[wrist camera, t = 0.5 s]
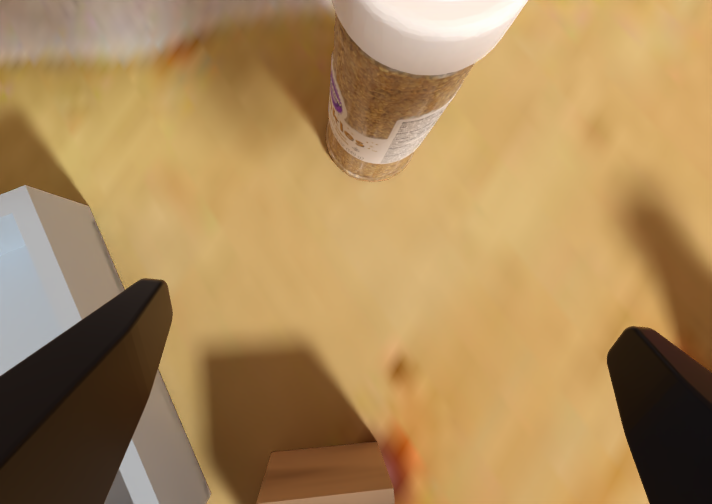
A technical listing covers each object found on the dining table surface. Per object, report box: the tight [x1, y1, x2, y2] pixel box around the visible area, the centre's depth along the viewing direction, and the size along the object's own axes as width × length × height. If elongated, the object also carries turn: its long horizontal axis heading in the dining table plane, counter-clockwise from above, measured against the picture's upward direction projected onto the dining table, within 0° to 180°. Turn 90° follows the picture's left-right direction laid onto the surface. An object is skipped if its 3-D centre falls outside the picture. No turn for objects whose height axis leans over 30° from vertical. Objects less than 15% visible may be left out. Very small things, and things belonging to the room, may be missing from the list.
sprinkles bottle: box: [326, 0, 528, 182], centre depth 16 cm, size 5×5×14 cm
